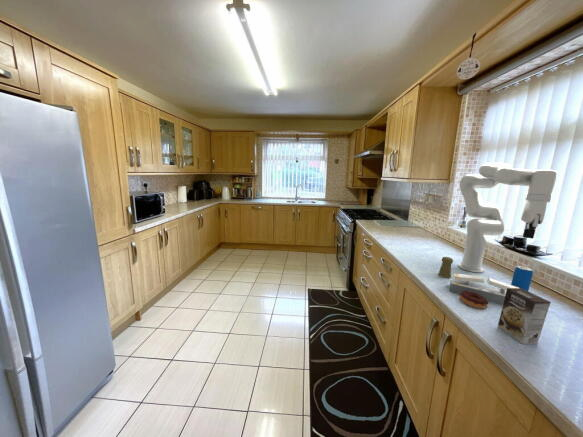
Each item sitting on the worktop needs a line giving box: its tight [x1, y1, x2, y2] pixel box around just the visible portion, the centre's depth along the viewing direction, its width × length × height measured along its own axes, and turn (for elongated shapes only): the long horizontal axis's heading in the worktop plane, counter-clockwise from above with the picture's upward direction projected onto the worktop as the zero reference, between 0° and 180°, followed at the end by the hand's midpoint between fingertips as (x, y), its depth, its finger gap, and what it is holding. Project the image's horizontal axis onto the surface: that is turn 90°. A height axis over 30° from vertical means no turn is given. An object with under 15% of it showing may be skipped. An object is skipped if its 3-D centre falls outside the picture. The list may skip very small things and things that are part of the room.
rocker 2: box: [486, 277, 520, 290], centre depth 104 cm, size 4×11×2 cm, turn 57°
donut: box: [459, 291, 489, 309], centre depth 101 cm, size 10×10×4 cm
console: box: [449, 277, 507, 306], centre depth 107 cm, size 8×27×6 cm, turn 57°
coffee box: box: [497, 288, 551, 345], centre depth 80 cm, size 9×6×16 cm
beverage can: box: [510, 265, 534, 292], centre depth 114 cm, size 6×6×12 cm
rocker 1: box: [453, 273, 485, 284], centre depth 110 cm, size 4×11×2 cm, turn 57°
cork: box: [438, 256, 454, 279], centre depth 128 cm, size 6×6×11 cm
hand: (527, 237), depth 104 cm, fingers closed
